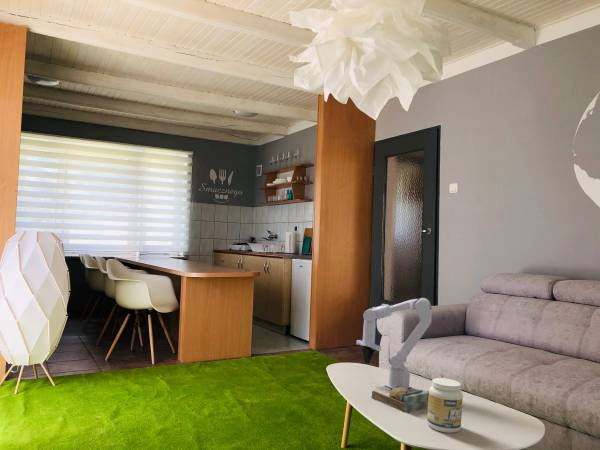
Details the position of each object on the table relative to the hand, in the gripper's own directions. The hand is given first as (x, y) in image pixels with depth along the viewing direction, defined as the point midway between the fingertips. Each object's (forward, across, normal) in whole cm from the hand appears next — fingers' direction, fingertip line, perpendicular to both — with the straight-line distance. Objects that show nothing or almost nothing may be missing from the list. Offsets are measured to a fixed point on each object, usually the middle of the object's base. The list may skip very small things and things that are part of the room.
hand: (367, 362), depth 233 cm
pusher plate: (+9, +32, -6) cm, 34 cm away
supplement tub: (+10, +54, -13) cm, 56 cm away
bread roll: (+10, +27, -6) cm, 29 cm away
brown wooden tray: (+9, +27, -6) cm, 29 cm away
